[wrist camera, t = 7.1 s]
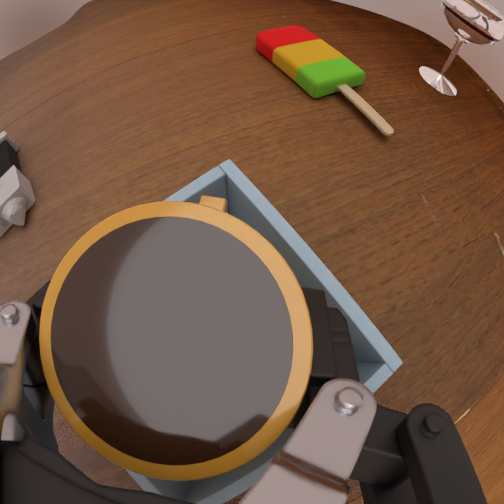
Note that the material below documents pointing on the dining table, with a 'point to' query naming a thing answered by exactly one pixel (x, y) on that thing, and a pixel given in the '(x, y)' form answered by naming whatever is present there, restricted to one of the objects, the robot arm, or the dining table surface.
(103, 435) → the coffee cup
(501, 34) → the wineglass
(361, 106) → the popsicle
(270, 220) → the tub
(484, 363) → the dining table surface
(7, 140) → the camera
